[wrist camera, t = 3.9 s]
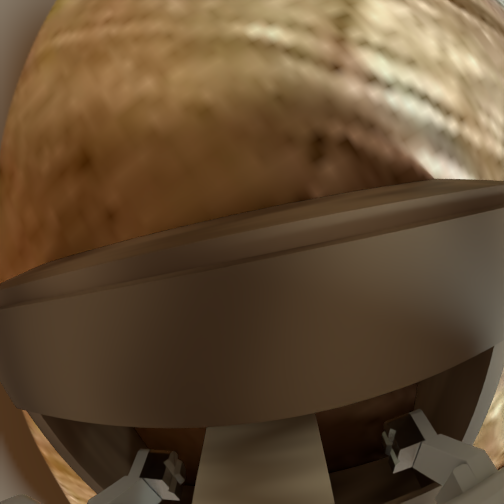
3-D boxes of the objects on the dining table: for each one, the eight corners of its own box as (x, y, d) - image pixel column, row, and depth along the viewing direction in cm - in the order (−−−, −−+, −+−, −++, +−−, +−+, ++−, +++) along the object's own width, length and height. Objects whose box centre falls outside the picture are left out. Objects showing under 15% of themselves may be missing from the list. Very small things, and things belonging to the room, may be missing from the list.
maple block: (303, 366, 12) (334, 502, 5) (312, 422, 13) (333, 536, 6) (216, 380, 12) (190, 513, 5) (237, 433, 13) (227, 546, 6)
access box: (435, 179, 10) (530, 183, 5) (414, 452, 14) (439, 506, 8) (44, 263, 11) (-36, 301, 6) (169, 490, 15) (155, 544, 9)
